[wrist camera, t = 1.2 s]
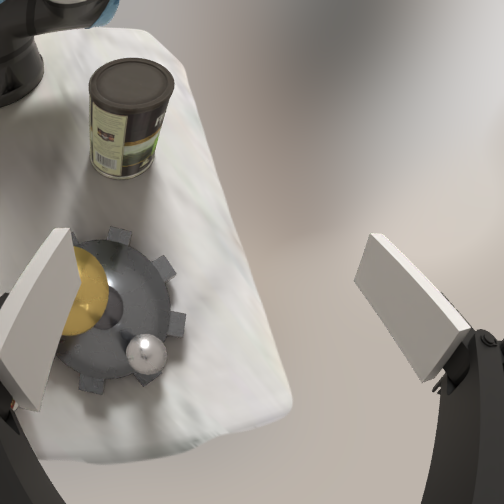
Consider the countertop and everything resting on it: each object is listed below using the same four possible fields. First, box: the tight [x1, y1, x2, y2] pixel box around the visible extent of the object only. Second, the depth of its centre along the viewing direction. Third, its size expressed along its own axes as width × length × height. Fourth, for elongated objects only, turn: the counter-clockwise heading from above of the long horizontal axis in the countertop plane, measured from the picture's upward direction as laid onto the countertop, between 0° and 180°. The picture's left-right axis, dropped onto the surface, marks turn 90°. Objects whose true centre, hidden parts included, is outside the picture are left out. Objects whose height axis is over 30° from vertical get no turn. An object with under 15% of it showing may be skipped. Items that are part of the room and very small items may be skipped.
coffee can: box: [89, 58, 174, 180], centre depth 33 cm, size 10×10×14 cm
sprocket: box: [54, 227, 186, 395], centre depth 25 cm, size 20×20×14 cm
